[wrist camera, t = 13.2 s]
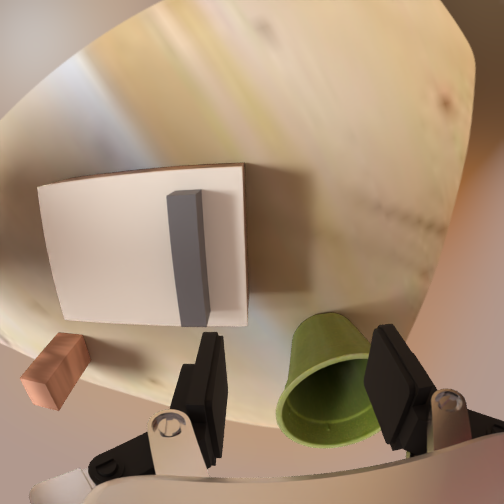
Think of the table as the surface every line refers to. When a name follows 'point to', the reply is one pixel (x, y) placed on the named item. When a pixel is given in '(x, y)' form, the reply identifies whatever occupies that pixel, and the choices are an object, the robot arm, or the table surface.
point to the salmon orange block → (56, 370)
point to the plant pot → (327, 385)
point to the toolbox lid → (149, 247)
